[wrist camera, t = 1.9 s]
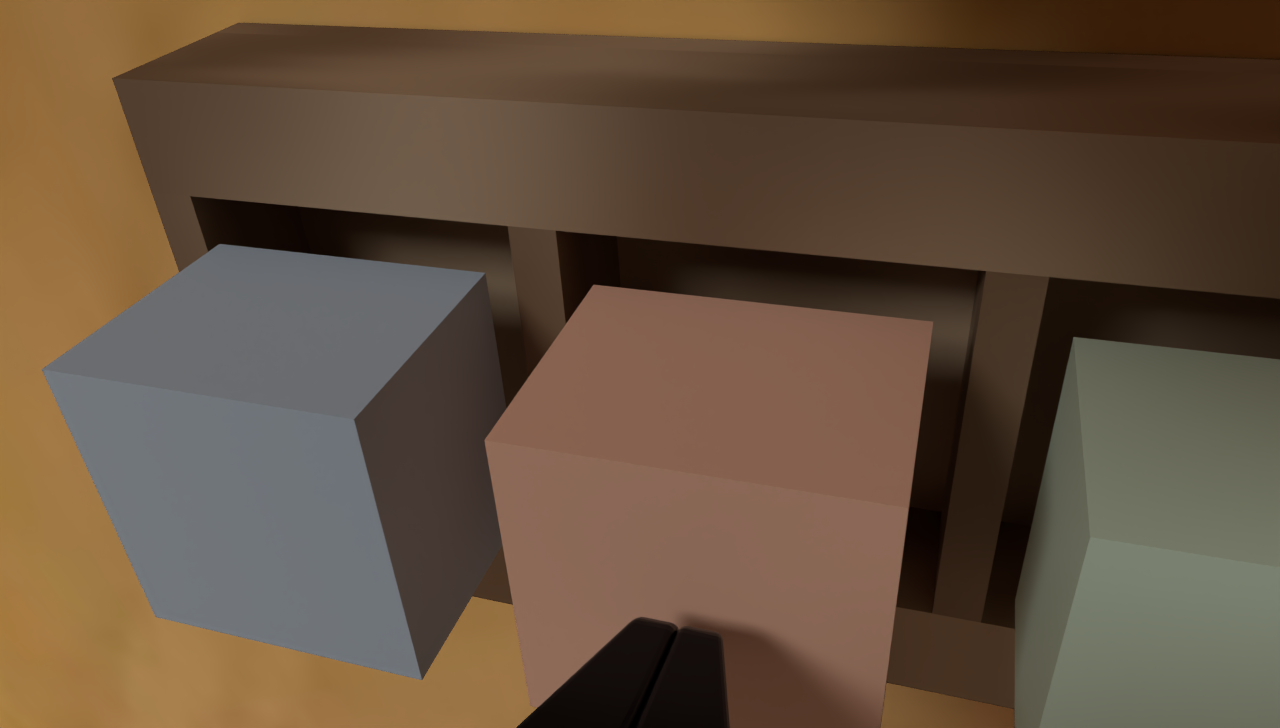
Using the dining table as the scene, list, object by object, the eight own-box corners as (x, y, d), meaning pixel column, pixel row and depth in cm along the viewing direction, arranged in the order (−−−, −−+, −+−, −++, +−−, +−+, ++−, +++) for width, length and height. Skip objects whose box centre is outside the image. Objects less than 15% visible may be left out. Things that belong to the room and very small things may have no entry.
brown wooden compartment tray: (1624, 71, 10) (1778, 171, 8) (1345, 634, 14) (1398, 789, 12) (238, 22, 14) (112, 78, 12) (356, 462, 19) (277, 555, 17)
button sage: (1522, 386, 9) (1700, 635, 7) (1374, 665, 11) (1468, 928, 9) (1073, 337, 10) (1090, 537, 8) (1014, 599, 12) (1014, 819, 10)
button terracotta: (933, 322, 10) (908, 508, 8) (899, 579, 13) (872, 787, 10) (594, 284, 12) (484, 440, 9) (615, 528, 14) (530, 705, 11)
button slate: (486, 272, 12) (354, 419, 10) (522, 512, 14) (422, 679, 12) (219, 244, 13) (40, 369, 11) (291, 469, 15) (155, 616, 13)
